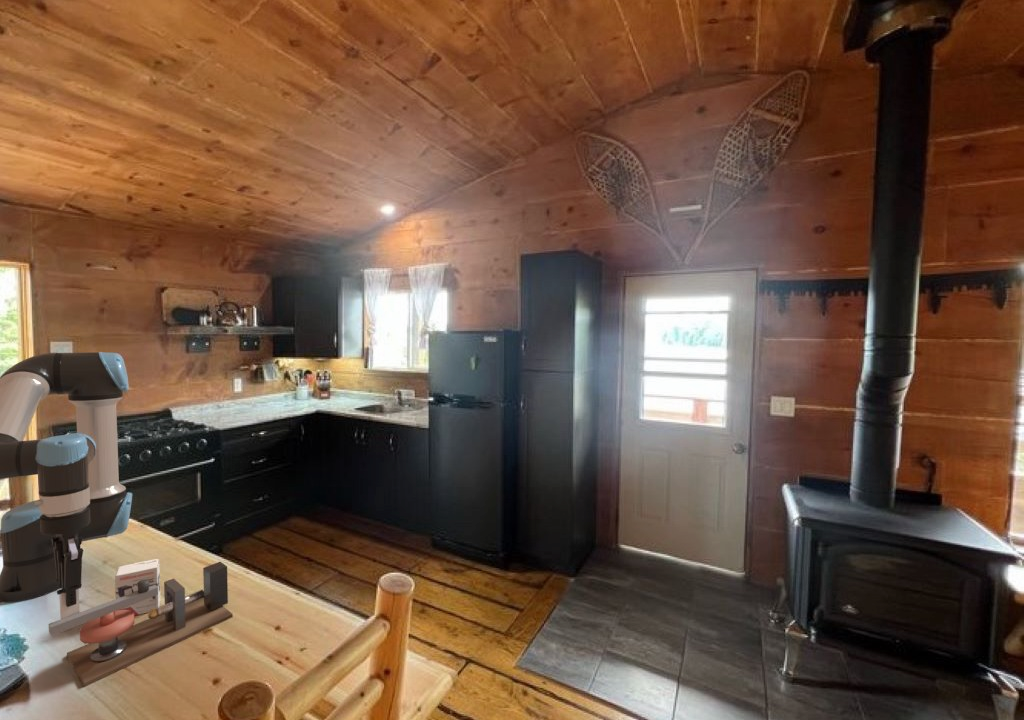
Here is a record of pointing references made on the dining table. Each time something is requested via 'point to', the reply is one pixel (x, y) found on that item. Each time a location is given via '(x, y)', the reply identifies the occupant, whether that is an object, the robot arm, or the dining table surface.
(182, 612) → the eye
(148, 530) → the dining table surface
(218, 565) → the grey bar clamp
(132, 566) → the ink box
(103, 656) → the axle post
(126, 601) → the handwheel
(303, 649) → the dining table surface
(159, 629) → the board
